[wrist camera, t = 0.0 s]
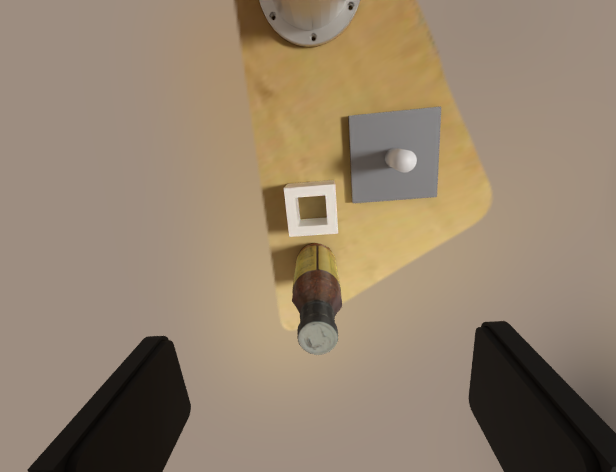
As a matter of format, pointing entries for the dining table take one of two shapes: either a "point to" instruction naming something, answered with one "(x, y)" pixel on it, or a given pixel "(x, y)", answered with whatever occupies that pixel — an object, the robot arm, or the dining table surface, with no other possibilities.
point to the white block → (314, 224)
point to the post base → (394, 136)
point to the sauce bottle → (317, 298)
